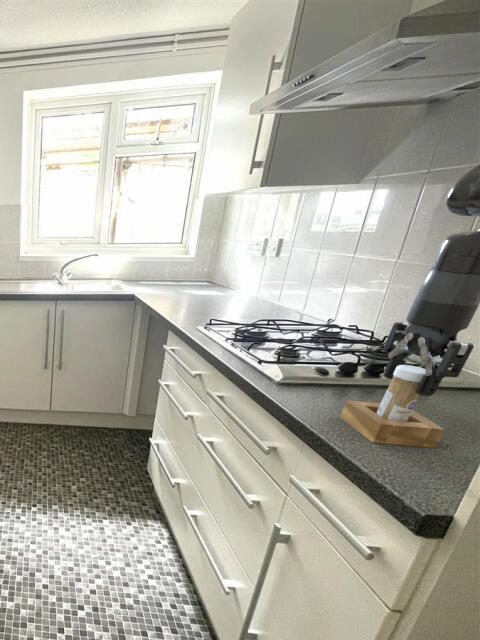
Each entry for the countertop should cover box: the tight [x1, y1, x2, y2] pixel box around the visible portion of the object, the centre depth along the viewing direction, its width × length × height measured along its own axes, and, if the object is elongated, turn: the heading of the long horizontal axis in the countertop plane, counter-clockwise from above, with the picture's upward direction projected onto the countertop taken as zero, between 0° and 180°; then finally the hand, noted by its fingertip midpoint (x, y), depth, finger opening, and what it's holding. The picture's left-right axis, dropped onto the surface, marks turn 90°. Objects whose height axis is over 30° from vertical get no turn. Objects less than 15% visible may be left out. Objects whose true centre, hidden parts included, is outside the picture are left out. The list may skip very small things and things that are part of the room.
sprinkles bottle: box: [376, 364, 426, 422], centre depth 79 cm, size 5×5×14 cm
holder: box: [339, 400, 446, 449], centre depth 81 cm, size 10×10×4 cm
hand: (406, 385), depth 78 cm, fingers open, 7 cm apart
